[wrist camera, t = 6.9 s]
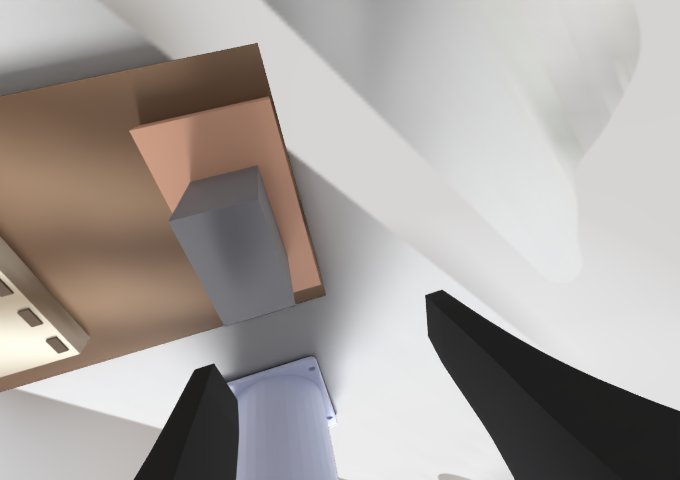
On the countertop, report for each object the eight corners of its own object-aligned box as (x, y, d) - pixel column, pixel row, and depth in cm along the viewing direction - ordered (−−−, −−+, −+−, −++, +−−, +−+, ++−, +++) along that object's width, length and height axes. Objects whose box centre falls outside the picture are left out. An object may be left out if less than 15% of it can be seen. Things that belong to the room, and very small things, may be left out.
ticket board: (323, 285, 21) (330, 308, 19) (-85, 405, 18) (-125, 446, 16) (257, 44, 14) (257, 41, 12) (-434, 187, 11) (-581, 214, 9)
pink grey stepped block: (317, 272, 19) (335, 336, 15) (226, 299, 18) (216, 373, 14) (268, 96, 14) (274, 112, 9) (138, 125, 13) (80, 157, 9)
